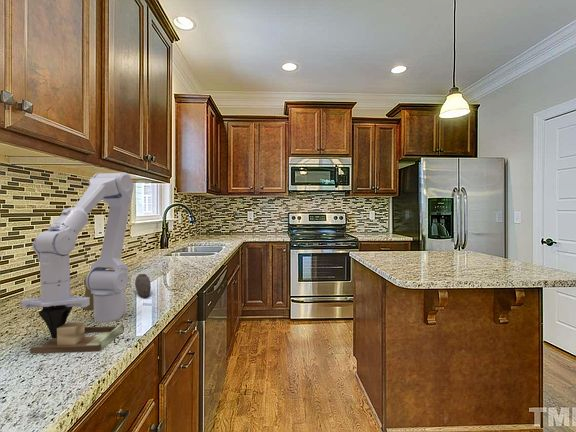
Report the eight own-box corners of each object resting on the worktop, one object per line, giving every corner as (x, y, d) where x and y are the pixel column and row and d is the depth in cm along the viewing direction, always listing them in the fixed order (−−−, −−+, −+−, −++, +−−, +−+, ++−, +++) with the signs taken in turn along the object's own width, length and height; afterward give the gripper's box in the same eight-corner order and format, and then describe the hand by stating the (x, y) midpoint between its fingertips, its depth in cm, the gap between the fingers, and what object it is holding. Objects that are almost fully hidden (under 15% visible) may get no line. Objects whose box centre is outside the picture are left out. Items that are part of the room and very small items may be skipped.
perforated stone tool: (152, 298, 119) (152, 279, 119) (137, 300, 117) (136, 281, 117) (149, 289, 132) (148, 272, 132) (134, 290, 130) (134, 273, 130)
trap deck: (64, 338, 83) (64, 324, 83) (124, 336, 84) (123, 323, 84) (30, 360, 72) (29, 344, 71) (100, 357, 72) (99, 342, 72)
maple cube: (68, 338, 80) (67, 322, 79) (84, 337, 80) (84, 321, 80) (57, 345, 76) (56, 328, 75) (74, 344, 76) (74, 328, 76)
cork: (107, 304, 112) (106, 273, 111) (97, 310, 106) (97, 277, 105) (89, 304, 111) (89, 273, 111) (79, 310, 105) (78, 277, 105)
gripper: (10, 285, 73) (12, 344, 73) (76, 284, 73) (78, 342, 74) (33, 278, 80) (35, 332, 80) (93, 277, 81) (95, 331, 81)
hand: (57, 336), depth 77 cm, fingers closed
